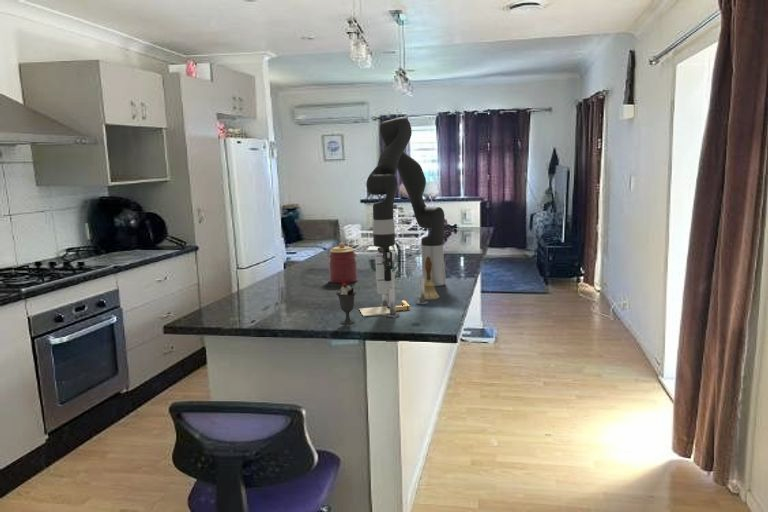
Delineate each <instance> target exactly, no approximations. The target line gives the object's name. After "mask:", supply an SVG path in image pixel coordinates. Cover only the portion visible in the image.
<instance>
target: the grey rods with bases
mask: <svg viewBox="0 0 768 512" xmlns="http://www.w3.org/2000/svg"><path fill="white" fill-rule="evenodd" d="M418 294H419V295H418V296H419V298H418V300H417V301H416V302H415V303H416V305H417V304H418V306H425V305H428V304H429V300H425V291H424V277H422V276H419V277H418ZM388 295H389V296H388ZM388 297H389V299H388ZM381 301H382V303H380V304H379V305H378V307H384V306H385V307H390V308H389V310H390V313H388V314H387V315H386V317H387V316H388V317H397V318H399V317H400V313H397V312H400V311H399V310H403V311H410V310H411V305H409V303H408V302H407V301H406V300H401V305H396V290H395V287H389V294H381ZM388 301H389V302H388ZM402 305H403V306H402ZM388 317H387V318H388Z"/></svg>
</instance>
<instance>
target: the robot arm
mask: <svg viewBox="0 0 768 512" xmlns="http://www.w3.org/2000/svg"><path fill="white" fill-rule="evenodd" d="M379 130H380V131H379V132H380V136H381V139H382V142H383V143H384V145H385V147H386V148H385V149H383V151H382V152H381V153H380V155H379V158H378V160H377V161H378V162H377V164H376V166H375V167H374V169H373V170H372V171H371V172H370V174H369V175H368V177H367V180H366V183H365V185H366V190H367V192H368V193H369V194H371V195H372V196H381V195H382V196H383V195H386V196H385V198H384V200H380V201H378V202H377V201H376V202H375V203H373V204H372V220H373V222H372V236H373V246H374V247H377V253H378V252H380V253H383V257H382V256H381V262H382V265H383V266H384V280H385V281H391V269H392V268H393V267H392V252H391V251H392V250H390V248H391V247H393V246H395V245H396V234H395V233H396V232H395V221H394V220H395V219H394V202H395V197H396V194H397V190H398V185H399V184H398V178H397V177H396V173H397V172H398V174H399V178H400V180H401V183H402V184H403V187H404V189H405V191H406V193H407V196H408V198H409V200H410V204H411V206H412V210H413V213H414V216H415V217H414V218H415V220H416V223H417V224H418V226H419V227H420V228H422V229H427V230H428V229H430V231H431V232H430V234H428V235H426V236H424V237H422V238H421V240H420V241H421V274H422V275H421V277H424V283H425V282H426V276H427V273H426V269H425V261H426V258H427V257H430V259H431V262H432V268H431V273H430V274H431V282H432V283H434V286H435V287H441V286H444V285H446V262H444V239H445V221H446V219H445V216H446V215H445V211H444V209H443V208H442V207H439V206H427V205H426V203H425V201H424V198H423V197H424V192H425V189H426V185H427V180H426V176H425V173H424V171H423V169H422V165H420V164H419V162H418V161H417V160H415V159H414V158H413V157H411V156H410V155H408V154H407V153H406V152H405V150H406V148H407V146H408V144H409V142H410V140H411V137H412V131H413V130H412V125H411V122H410V121H409V119H408V118H407V117H405V116H404V117H403V116H402V117H396V118H393V119H388V120H385V121H382V122H381V123H380V126H379ZM383 258H384V259H385V261H383ZM387 264H389V266H387Z"/></svg>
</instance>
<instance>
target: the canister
mask: <svg viewBox="0 0 768 512" xmlns="http://www.w3.org/2000/svg"><path fill="white" fill-rule="evenodd" d="M355 251H356V250H355V248H353V247H352V246H347V245H345V242H339V244H338V246H334V247H332V248H331V249H330V250H329V254H328V256H327V257H328V259H329V261H328V273H329V274H328V275H329V276H328V277H329V282H330V283H333V284H344V283H345V284H350V283H351V284H352V283H355V282H357V281H358V277H359V276H358V261H357V258H356V257H358V256H357V255H358V254H357V253H355ZM340 278H342V280H341V279H340ZM343 281H344V283H343Z"/></svg>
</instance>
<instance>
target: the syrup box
mask: <svg viewBox="0 0 768 512" xmlns="http://www.w3.org/2000/svg"><path fill="white" fill-rule="evenodd" d="M390 251H391V252H392V267H393V268H392V269H391V281H385V280H384V266H383V265H382V262H381V256H382V257H383V253H380V252H378V251H377V252H376V253H375V254H374V258H375V259H374V261H375V276H376V277H375V278H376V280H375V281H376V293H377V294H378V295H382V294H387V295H389V287H395V291H396V290H397V287H396V269H395V268H396V267H395V251H394V250H390ZM383 261H385V259H384V258H383ZM387 266H389V264H387Z"/></svg>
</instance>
